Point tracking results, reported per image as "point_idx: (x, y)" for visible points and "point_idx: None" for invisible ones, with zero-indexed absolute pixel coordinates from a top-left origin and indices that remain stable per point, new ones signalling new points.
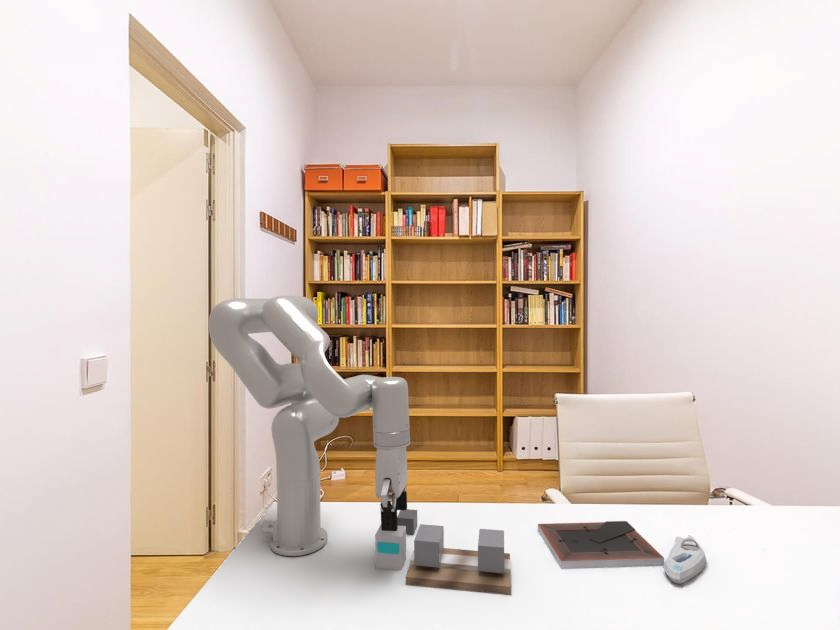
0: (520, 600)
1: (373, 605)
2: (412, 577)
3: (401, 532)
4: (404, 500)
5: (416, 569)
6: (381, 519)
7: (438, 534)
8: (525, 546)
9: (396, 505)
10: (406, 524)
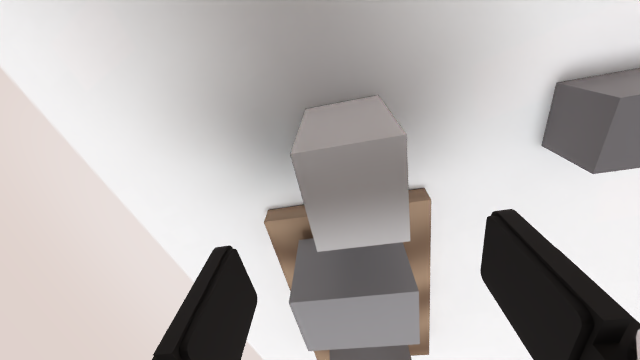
0: (309, 354)
1: (159, 174)
2: (269, 235)
3: (350, 242)
4: (516, 323)
5: (306, 233)
6: (191, 294)
7: (355, 342)
8: (484, 352)
9: (501, 252)
10: (579, 135)
